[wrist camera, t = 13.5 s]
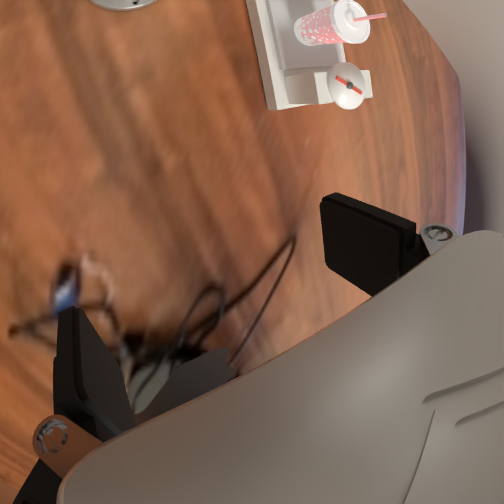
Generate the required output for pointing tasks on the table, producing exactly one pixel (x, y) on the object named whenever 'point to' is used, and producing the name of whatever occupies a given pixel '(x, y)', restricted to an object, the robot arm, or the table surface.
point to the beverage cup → (335, 24)
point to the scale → (302, 59)
